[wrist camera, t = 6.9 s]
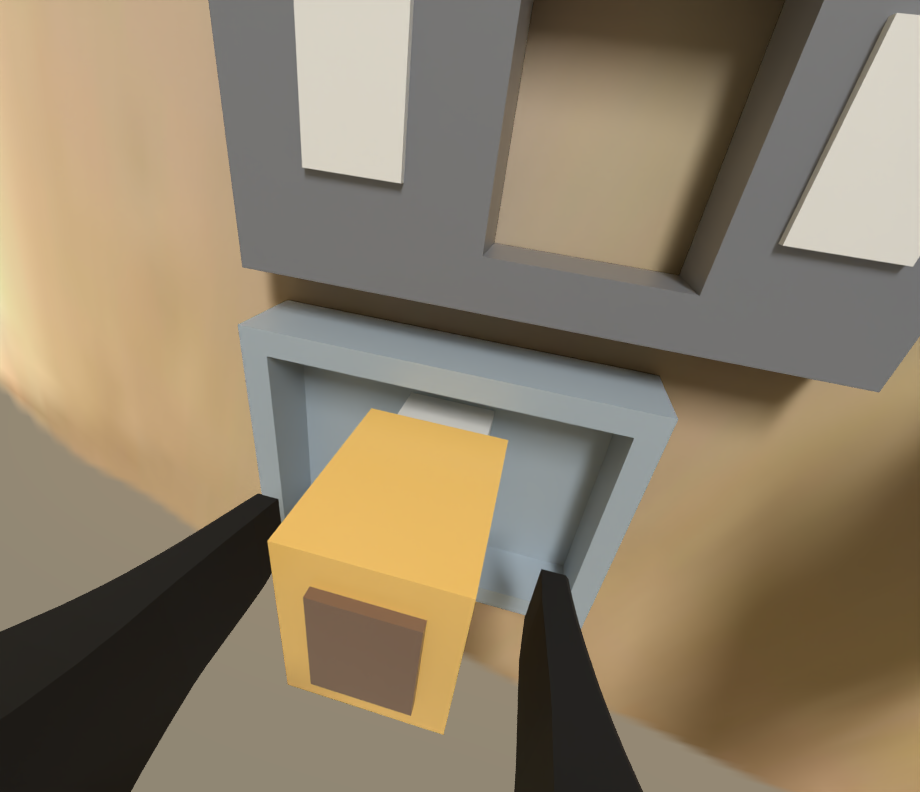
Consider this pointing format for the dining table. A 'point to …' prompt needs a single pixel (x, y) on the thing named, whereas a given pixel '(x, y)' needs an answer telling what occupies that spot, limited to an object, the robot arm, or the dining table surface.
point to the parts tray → (515, 419)
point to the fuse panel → (564, 277)
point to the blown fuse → (390, 560)
